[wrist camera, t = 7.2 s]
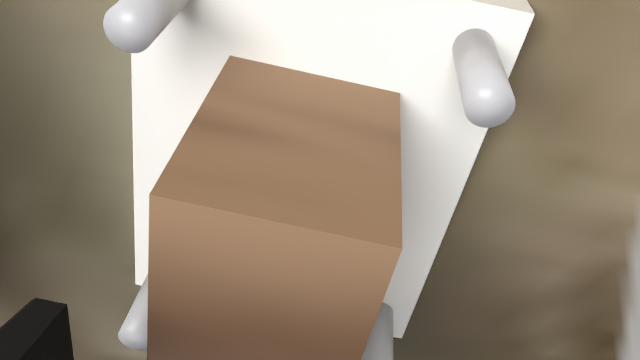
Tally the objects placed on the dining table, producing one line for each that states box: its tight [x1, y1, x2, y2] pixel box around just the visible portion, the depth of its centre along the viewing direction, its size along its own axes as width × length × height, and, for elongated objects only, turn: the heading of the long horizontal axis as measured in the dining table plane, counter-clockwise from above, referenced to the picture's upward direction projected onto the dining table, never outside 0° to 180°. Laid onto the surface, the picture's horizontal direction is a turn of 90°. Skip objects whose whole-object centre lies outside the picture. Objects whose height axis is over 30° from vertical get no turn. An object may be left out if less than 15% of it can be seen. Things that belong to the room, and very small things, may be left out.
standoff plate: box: [103, 0, 535, 360], centre depth 16 cm, size 12×10×4 cm
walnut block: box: [147, 55, 402, 360], centre depth 14 cm, size 7×4×6 cm, turn 169°
